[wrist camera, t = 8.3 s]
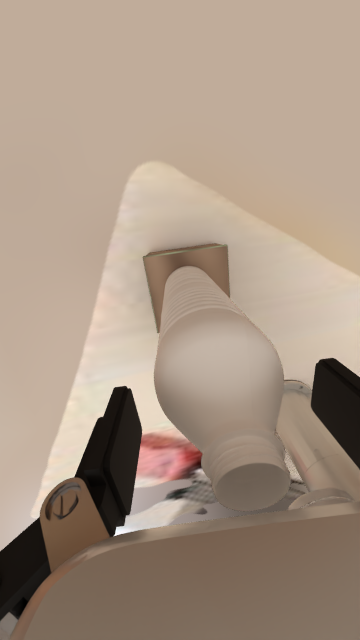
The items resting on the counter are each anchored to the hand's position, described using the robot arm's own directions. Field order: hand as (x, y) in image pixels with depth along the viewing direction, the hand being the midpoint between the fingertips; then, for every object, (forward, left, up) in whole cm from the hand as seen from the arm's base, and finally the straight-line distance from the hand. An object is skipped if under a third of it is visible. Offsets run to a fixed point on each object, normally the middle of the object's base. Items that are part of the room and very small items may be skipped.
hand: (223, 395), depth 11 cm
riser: (0, 0, -28) cm, 28 cm away
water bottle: (0, 0, -20) cm, 21 cm away
